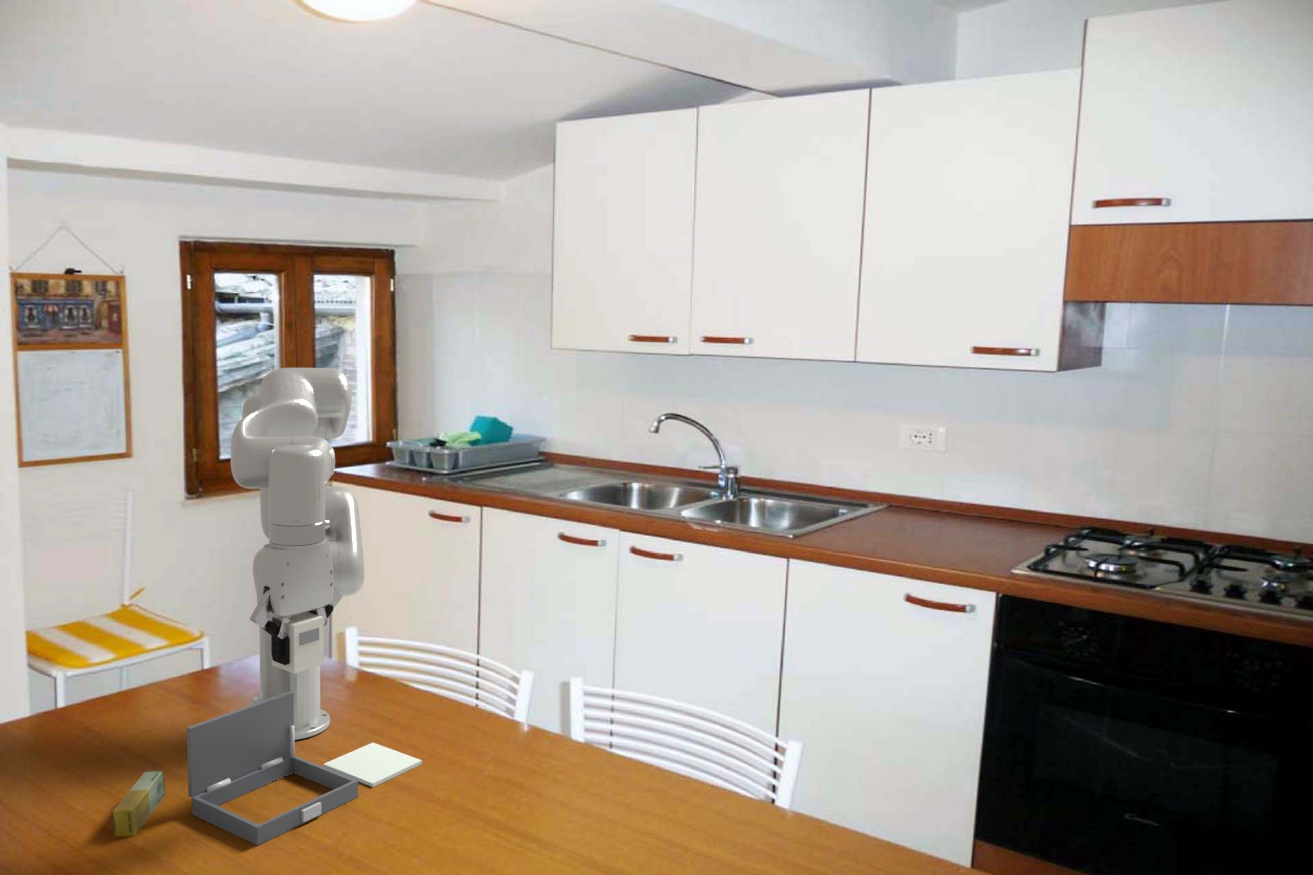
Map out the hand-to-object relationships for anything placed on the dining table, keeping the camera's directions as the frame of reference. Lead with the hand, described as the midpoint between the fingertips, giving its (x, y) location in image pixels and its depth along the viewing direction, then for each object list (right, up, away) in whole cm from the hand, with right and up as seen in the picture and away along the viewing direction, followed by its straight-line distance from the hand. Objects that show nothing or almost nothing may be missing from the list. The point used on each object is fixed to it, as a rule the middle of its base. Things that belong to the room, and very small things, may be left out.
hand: (298, 655), depth 152 cm
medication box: (-20, -22, -4) cm, 30 cm away
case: (-3, -21, 0) cm, 21 cm away
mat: (+7, -20, +13) cm, 25 cm away
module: (0, -1, 0) cm, 1 cm away
